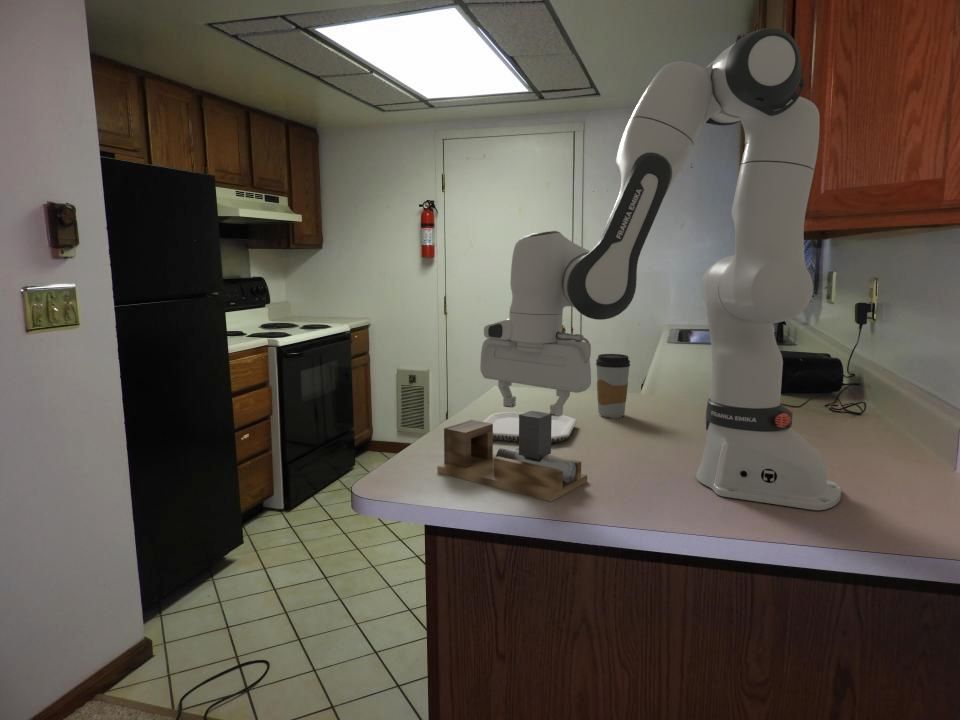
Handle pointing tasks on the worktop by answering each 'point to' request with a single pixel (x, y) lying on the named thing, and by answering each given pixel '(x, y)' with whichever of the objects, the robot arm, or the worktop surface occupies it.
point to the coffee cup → (612, 384)
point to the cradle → (500, 464)
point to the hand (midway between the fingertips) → (532, 411)
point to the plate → (509, 426)
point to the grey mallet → (537, 445)
